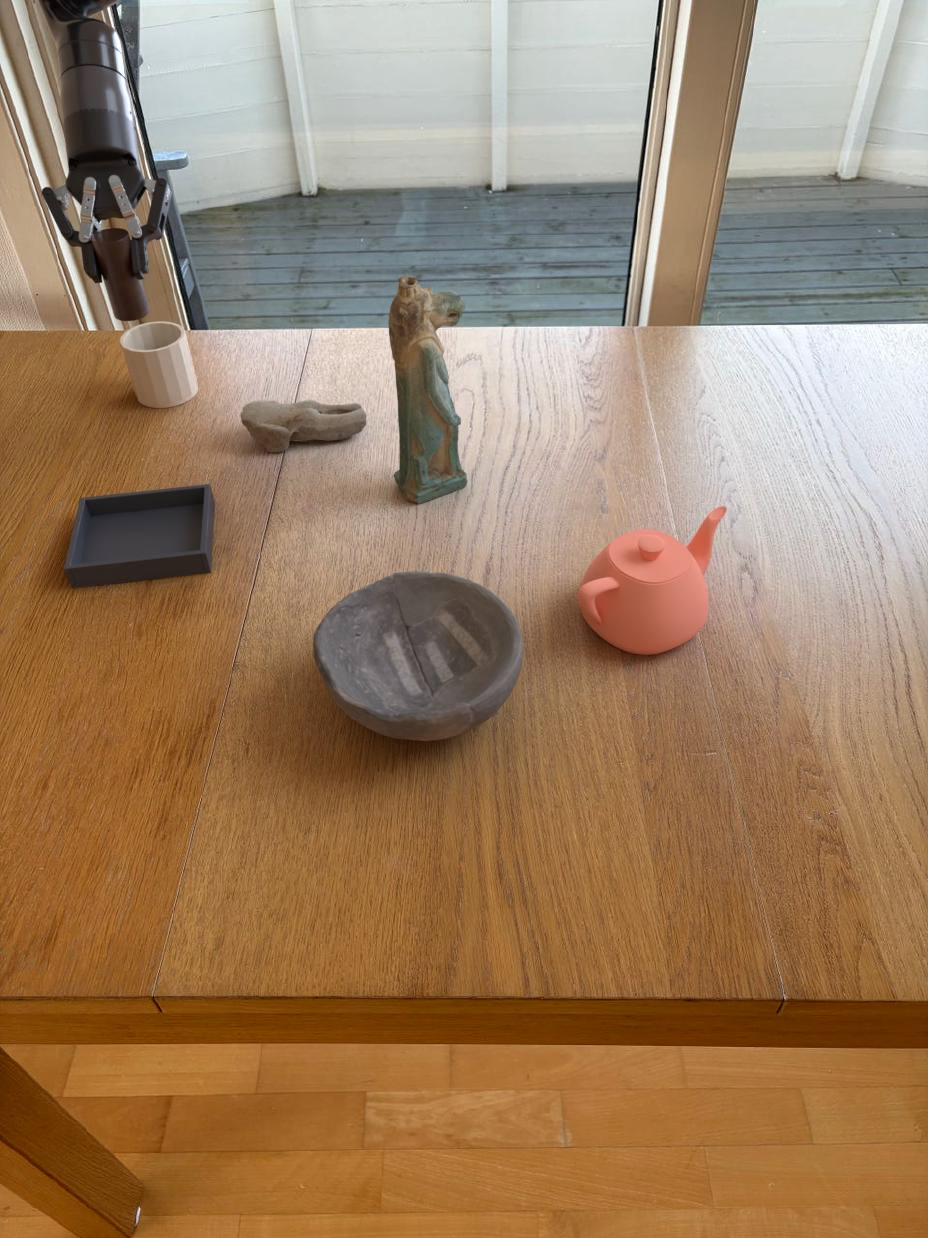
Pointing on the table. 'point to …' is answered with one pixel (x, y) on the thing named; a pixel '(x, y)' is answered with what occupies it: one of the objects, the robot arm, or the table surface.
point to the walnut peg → (120, 274)
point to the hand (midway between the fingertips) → (118, 277)
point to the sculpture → (300, 422)
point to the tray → (141, 536)
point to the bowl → (419, 655)
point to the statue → (424, 392)
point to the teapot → (649, 588)
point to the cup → (159, 364)
